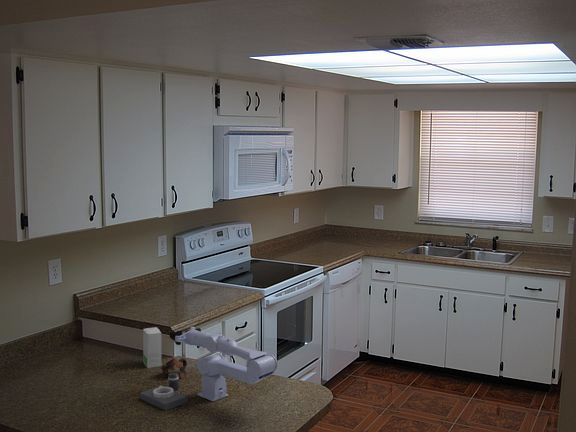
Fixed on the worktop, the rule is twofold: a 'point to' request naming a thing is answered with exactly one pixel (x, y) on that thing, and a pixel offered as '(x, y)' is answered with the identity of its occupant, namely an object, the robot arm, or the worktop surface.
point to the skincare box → (152, 347)
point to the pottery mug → (178, 364)
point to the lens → (173, 381)
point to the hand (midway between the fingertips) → (178, 334)
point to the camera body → (163, 397)
